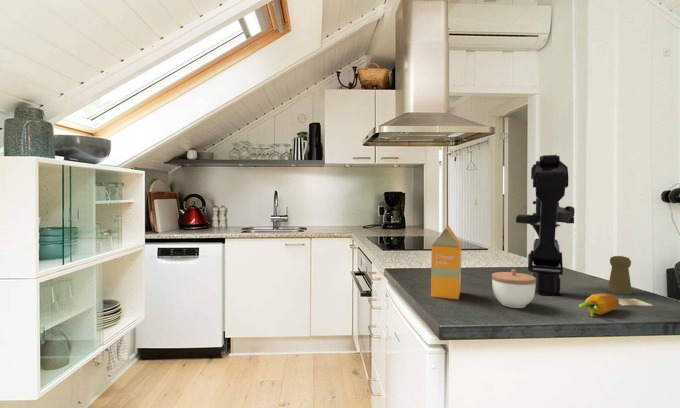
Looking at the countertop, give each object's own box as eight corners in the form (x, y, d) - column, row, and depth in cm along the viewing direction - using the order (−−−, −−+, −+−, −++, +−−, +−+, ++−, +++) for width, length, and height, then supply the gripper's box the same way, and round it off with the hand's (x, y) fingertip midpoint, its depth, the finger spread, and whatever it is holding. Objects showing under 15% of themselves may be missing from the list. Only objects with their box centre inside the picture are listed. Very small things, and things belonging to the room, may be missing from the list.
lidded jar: (483, 300, 103) (483, 266, 102) (517, 298, 105) (518, 265, 104) (507, 311, 92) (508, 274, 92) (545, 309, 94) (546, 273, 94)
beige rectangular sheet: (623, 305, 98) (623, 304, 98) (606, 299, 104) (606, 298, 104) (652, 306, 98) (652, 305, 98) (634, 299, 104) (634, 298, 104)
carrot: (631, 298, 93) (600, 304, 86) (622, 314, 95) (591, 321, 88) (611, 286, 97) (580, 292, 90) (602, 302, 99) (571, 308, 92)
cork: (623, 289, 116) (624, 255, 116) (636, 294, 110) (637, 258, 110) (603, 289, 117) (603, 254, 117) (615, 294, 111) (616, 257, 111)
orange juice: (430, 296, 106) (431, 227, 105) (434, 289, 114) (435, 225, 114) (458, 299, 103) (460, 228, 102) (461, 292, 111) (462, 226, 111)
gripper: (541, 198, 113) (540, 249, 113) (589, 198, 117) (588, 247, 118) (515, 197, 123) (514, 244, 124) (560, 198, 128) (559, 243, 128)
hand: (544, 244), depth 123 cm, fingers closed
